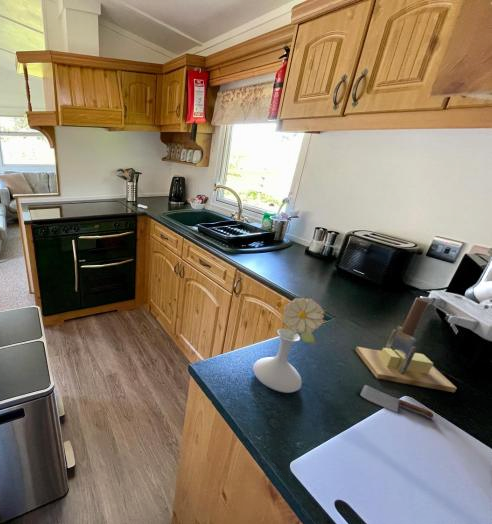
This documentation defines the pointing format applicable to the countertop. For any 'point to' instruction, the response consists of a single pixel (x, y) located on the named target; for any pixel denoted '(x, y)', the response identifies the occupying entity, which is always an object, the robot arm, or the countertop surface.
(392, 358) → the butter slice
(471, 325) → the robot arm
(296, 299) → the flower in vase
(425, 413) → the cleaver
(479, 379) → the countertop surface
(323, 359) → the countertop surface
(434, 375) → the butter board
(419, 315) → the knife
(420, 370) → the butter block
